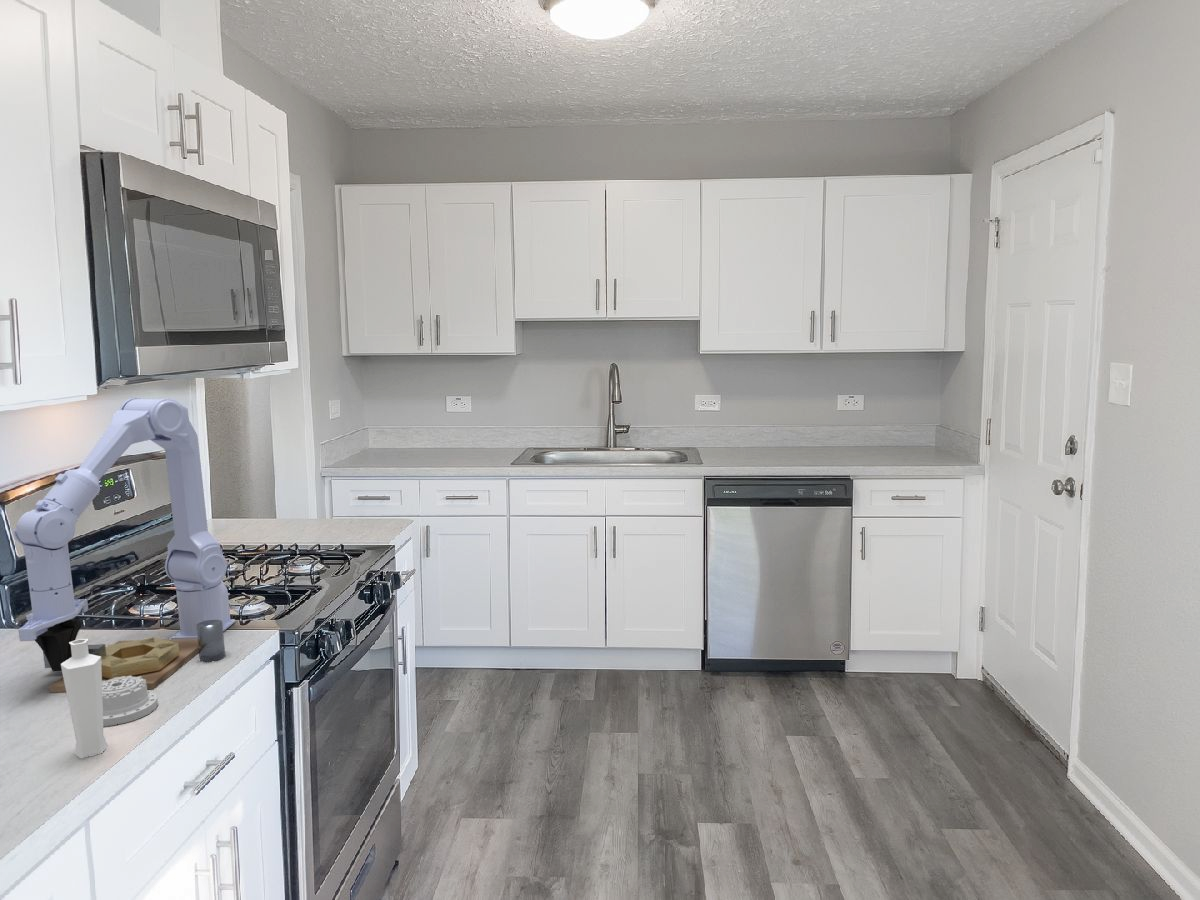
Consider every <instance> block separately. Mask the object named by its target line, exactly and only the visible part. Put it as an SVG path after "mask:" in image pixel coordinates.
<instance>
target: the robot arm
mask: <svg viewBox="0 0 1200 900" xmlns="http://www.w3.org/2000/svg"><path fill="white" fill-rule="evenodd" d="M110 421H111V422H110V424H109V426H108V427H107V429H106V430H105V431H104V433H103V434H102V436H101V437H100V438H99V440H98V441H96V443H95V445H94V446H93V448H92V449H91V451H90V452H89V453H88V454H87V456H86V458H85V459H84V460H83V462H82V463H81V464H80V466H79V467H78V468H76V469H75V468H74V469H69V470H68V469H67V470H66V471H65V472H64V473H59V474H58V475H57V476H56V477H55V478H54V481H55V484H54V485H53V486H52V487H51V488H50V490H49V491H48V492H47V493H46V494H45V496H44V497H43V498H42V499H39V500H37V502H36V503H35V509H31V510H30V511H27V512H25V513H23V514H22V515H21V517H20V518H19V519H18V521H17V524H16V528H15V529H14V530H13V531H12V533H13V537H14V539H15V540H16V541H17V542H18V543H19V544H20V545H21V547H23V552H24V558H25V565H26V572H27V580H28V581H27V582H28V587H29V597H30V603H31V604H30V606H31V613H28V614H26V615H25V616H26V617H25V618H26V621H27V622H26V623H25V624H24V625H23V626H21V627H20V628H18V630H17V632H18V638H19V642H33V641H35V643H36V644H37V645H38V646H39V648H40V649H41V650H42V653H43V652H44V654H45V656H46V658H47V660H48V662H49V664H50V667H51V668H50V669H51V671H52V672H62V669H61V663H63V662H65V661H66V660H68V659H69V658H71V657H72V652H71V644H69V642H72V641H75V640H77V636H78V634H79V632H80V629H81V628H82V621H81V620H79V619H78V620H72V619H74V618H76V617H78V615H79V614H81V613H86V612H88V611H89V603H88V599H87V598H82V599H80V598H79V599H75V595H74V585H73V577H72V576H73V575H72V569H71V561H70V560H71V559H70V553H69V552H70V550H69V542H70V541H71V540H73V539H74V536H75V532H76V524H77V522H78V519H79V518H80V517H81V515H82V514H83V513H84V512H85V510H86V509H87V508H88V506H89V505H90V504H91V503H92V502H93V500H94V499H95V498H96V497H97V495H99V493H100V491H101V487H100V480H101V479H102V477H103V476H104V475H105V474H106V473H107V472H108V471H109V469H110V468H112V466H113V465H114V464H115V463H116V462H117V460H118V459H120V457H121V456H123V454H124V453H125V452H126V451H127V450H128V449H129V448H130V446H131V445H133V444H138V443H142V442H145V441H151V442H153V443H154V444H156V445H157V446H158V447H160V448H162V449H163V450H164V453H165V454H164V455H165V461H166V470H167V478H168V479H167V480H168V488H169V495H170V496H169V498H170V504H171V505H170V506H171V507H170V508H171V514H172V515H171V516H172V522H173V523H172V524H173V532H174V535H173V537H172V538H171V539H170V540H169V542H168V543H167V545H166V547H167V548H166V549H167V556H166V559H165V563H164V571H165V573H166V575H167V577H168V578H169V579H170V580H172V581H173V586H174V587H175V590H176V600H177V601H176V602H177V609H178V612H177V613H178V622H179V628H180V629H179V631H177V632H176V633H174V635H172V636H171V637H170V639H198V637H197V627H196V625H197V624H198V623H200V622H203V621H208V620H221V621H222V624H223V632H224V631H226V630H227V629H228V628H230V627H231V626H232V625H233V624H234V623H236V619H235V618H232V619H231V614H230V613H231V612H230V603H229V602H230V601H229V592H228V588H227V585H226V584H225V583H224V582H223V579H224V578H225V577H226V574H227V569H228V563H227V559H226V558H225V557H226V556H224V555H223V551H222V549H221V542H219V541H218V540H217V539H216V538H215V536H214V535H212V534H211V533H210V532H209V529H208V528H209V526H208V520H207V509H206V500H205V492H204V490H205V489H204V483H203V482H204V481H203V473H202V472H203V471H202V463H201V452H200V446H199V445H200V443H199V437H198V433H197V431H196V430H195V428H194V426H193V424H192V423H191V421H190V417H189V410H188V408H187V407H186V406H185V405H183V404H182V403H180V402H178V401H177V400H175V399H172V398H170V397H169V398H165V397H164V398H139V397H138V398H137V397H133V398H129V399H127V400H125V401H124V402H123V403H122V404H121V405H120V407H119V409H118V410H116V412H113V415H112V416H111V420H110Z"/></svg>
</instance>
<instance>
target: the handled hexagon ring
mask: <svg viewBox="0 0 1200 900" xmlns="http://www.w3.org/2000/svg"><path fill="white" fill-rule="evenodd" d="M134 640H135V639H134ZM129 641H130V642H124V643H118V644H115V643H112V644H108V645H107V646H106V644H104V643H102V644H99V643H98V644H88V652H89V654H92V655H96V656H101V668H102V677H105V678H109V679H113V678H115V677H118V678H119V677H122V676H125V677H127V676H132V675H137V674H142V673H147V672H152V671H157V670H160V669H162V668H163V667H164V666H166V665H167V664H168V663H169V662H171V661H172V660H173V659H175V658H176V657H177V656H178V655H179V645H178V643H176V642H171V641H167V640H164V638H159V637H155V636H154V637H147V638H142V639H136V640H135V641H131V640H129ZM42 654H43V663H44V669H51V667H50V664H49V662H48V660H47V658H46V656H45V654H44V652H43V651H42Z"/></svg>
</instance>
